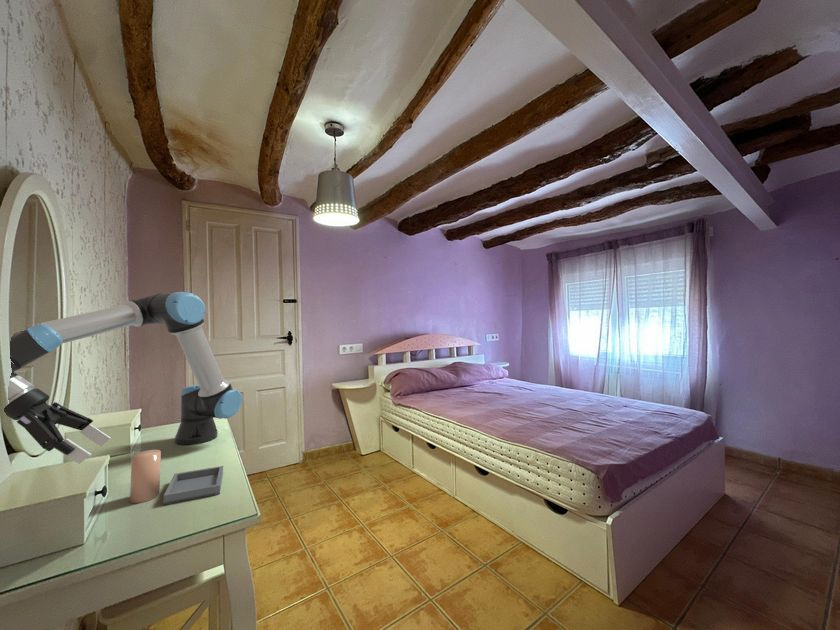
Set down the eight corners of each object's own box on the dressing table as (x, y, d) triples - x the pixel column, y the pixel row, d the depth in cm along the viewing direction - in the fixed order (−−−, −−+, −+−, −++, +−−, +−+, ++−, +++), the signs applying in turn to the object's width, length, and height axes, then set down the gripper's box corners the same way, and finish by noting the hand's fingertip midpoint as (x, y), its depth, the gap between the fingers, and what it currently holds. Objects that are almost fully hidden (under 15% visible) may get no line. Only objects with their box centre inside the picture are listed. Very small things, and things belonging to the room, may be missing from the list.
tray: (174, 481, 102) (174, 473, 103) (223, 473, 108) (223, 465, 109) (163, 505, 89) (163, 495, 89) (219, 494, 95) (219, 485, 95)
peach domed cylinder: (149, 490, 97) (150, 448, 98) (164, 493, 95) (166, 451, 96) (124, 501, 91) (125, 456, 92) (140, 504, 89) (142, 459, 90)
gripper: (31, 400, 92) (101, 446, 99) (-37, 424, 70) (58, 481, 76) (59, 380, 95) (125, 426, 101) (1, 396, 73) (90, 454, 79)
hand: (96, 450), depth 89 cm, fingers open, 13 cm apart
